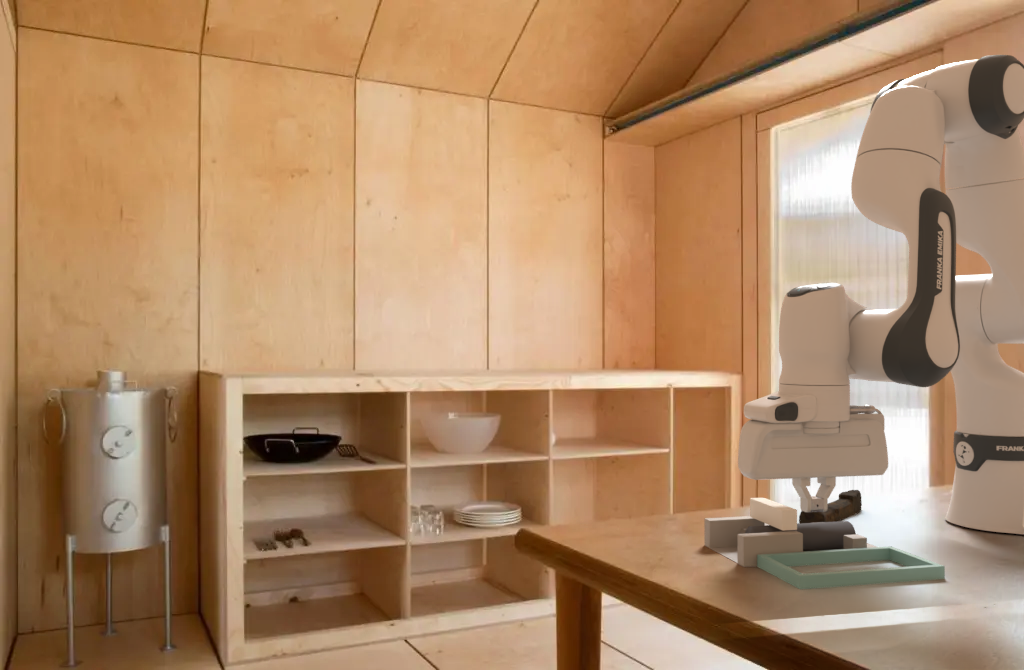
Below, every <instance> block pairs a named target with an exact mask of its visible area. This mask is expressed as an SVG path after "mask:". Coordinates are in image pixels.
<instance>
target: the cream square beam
mask: <svg viewBox="0 0 1024 670" xmlns="http://www.w3.org/2000/svg"><path fill="white" fill-rule="evenodd" d="M749 516H750V517H752V518H754V519H756V520H759V521H761V522H764V523H765V525H771V526H773V527H775V528H778V529H780V530H783V531H784V530H797V524H798V509H795V508H793V507H790V506H787V505H785V504H782V503H779V502H776V501H775V500H774V501H773V500H772V499H769V498H765V497H750V498H749Z"/></svg>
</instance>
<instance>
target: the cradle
mask: <svg viewBox="0 0 1024 670" xmlns="http://www.w3.org/2000/svg"><path fill="white" fill-rule="evenodd" d="M817 523H820V522H817ZM765 525H766V523H764V522H761V521H759V520H756V519H754V518H752V517H750V515H745V516H743V515H742V516H741V515H740V516H726V517H725V516H724V517H721V516H720V517H706V518H705V517H704V526H703V527H704V546H705V547H706V548H709V549H710V550H712V551H713V552H716V553H717V554H719V555H721V556H723V557H725V558H726V559H729V561H732V562H734V563H736V564H737V565H738V566H741V567H742V568H750V567H751V568H752V567H757V555H760V554H776V553H792V552H808V551H803V534H802V533H800V532H798V531H784V532H766V533H748V534H745V533H746V529H747V528H748V527H749V526H765ZM872 547H877V546H876V545H874V544H871V543H868V538H867V537H866V536H863V535H860V534H858V533H857V534H854V535H844V548H843V549H856V548H872ZM827 550H840V549H827ZM810 551H824V550H810Z"/></svg>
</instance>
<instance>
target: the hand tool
mask: <svg viewBox="0 0 1024 670" xmlns="http://www.w3.org/2000/svg"><path fill="white" fill-rule="evenodd" d="M862 506H863V505H862V494H861V491H860V490H859V489H851V490H848V491H842V492H840V493H839V495H838V499H837V500H834V501H831V502H829V503H828V507H827V511H824V512H804V511H802V510H801V511H800V513H799V515H798V517H799V518H798V524H801V523H817V522H838V521H843V520H844V519H847V518H849V517H851V516H854V515H856V514H857V513H859V512H861V511H862Z"/></svg>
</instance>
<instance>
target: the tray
mask: <svg viewBox="0 0 1024 670" xmlns="http://www.w3.org/2000/svg"><path fill="white" fill-rule="evenodd" d="M878 561H879V562H880V561H892V562H894V563H897V564H899V565H902V566H898V567H897V566H895V567H884V568H883V567H881V568H868V569H866V568H865V569H853V570H837V571H825V572H824V571H823V572H821V571H820V572H808V573H807V572H806V573H802V572H800V571H798V570H796V569H794V568H792V567H801V566H818V565H831V564H845V563H846V564H847V563H860V562H863V563H864V562H878ZM945 566H946V565H943V564H941V563H938V562H934V561H933V560H929V559H926V558H924V557H921V556H919V555H916V554H913V553H910V552H907V551H906V550H903V549H899V548H897V547H894V546H890V545H889V546H876V547H872V548H856V549H840V550H824V551H808V552H792V553H776V554H760V555H757V566H756V567H757V568H759V569H761V570H763V571H765V572H767V573H768V574H771V576H772V575H773V576H774V577H776V578H778V579H779V580H782V581H783V582H785V583H787V584H789V585H790V586H793V587H795V588H797V589H798V590H807V589H808V590H809V589H810V590H811V589H820V588H823V589H824V588H837V587H849V586H850V587H851V586H863V585H877V584H889V583H892V584H894V583H903V582H904V583H906V582H918V581H931V580H932V581H934V580H944V579H946V578H945V576H946V574H945V572H946V571H945V570H946V568H945Z"/></svg>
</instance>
